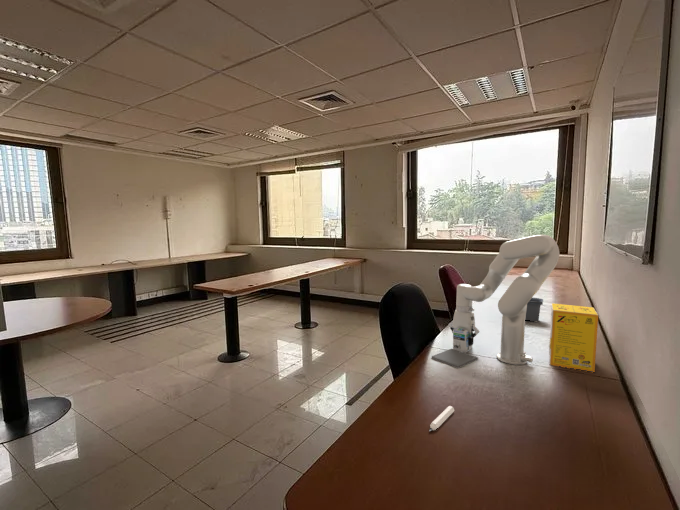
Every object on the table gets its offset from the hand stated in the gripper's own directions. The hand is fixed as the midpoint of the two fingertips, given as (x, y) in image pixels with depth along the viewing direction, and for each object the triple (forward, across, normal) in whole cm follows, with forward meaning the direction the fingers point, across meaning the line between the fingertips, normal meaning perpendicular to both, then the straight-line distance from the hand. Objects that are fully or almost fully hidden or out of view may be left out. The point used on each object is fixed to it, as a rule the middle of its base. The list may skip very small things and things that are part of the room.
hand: (462, 342), depth 171 cm
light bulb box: (+3, 0, 0) cm, 3 cm away
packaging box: (+3, -40, -23) cm, 46 cm away
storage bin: (+3, +6, -83) cm, 83 cm away
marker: (+4, -32, +64) cm, 72 cm away
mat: (+3, -5, +15) cm, 16 cm away
